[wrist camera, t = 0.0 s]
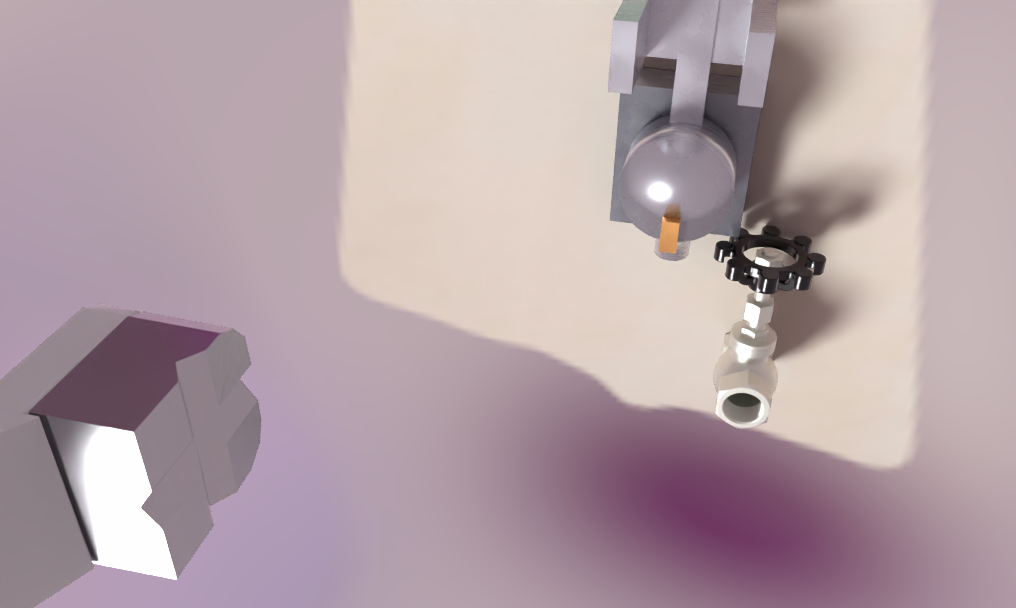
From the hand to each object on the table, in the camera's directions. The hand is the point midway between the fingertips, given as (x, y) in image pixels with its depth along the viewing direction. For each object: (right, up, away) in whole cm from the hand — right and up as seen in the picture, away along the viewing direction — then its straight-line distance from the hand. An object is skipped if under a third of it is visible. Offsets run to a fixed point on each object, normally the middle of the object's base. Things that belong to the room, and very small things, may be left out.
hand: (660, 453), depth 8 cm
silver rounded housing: (+9, +12, +45) cm, 47 cm away
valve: (+15, +2, +54) cm, 57 cm away
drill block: (+10, +10, +50) cm, 52 cm away
